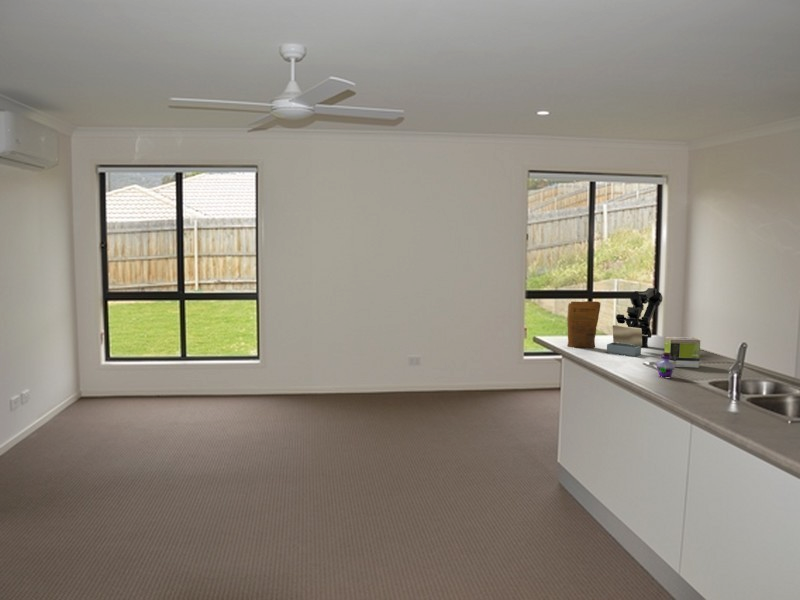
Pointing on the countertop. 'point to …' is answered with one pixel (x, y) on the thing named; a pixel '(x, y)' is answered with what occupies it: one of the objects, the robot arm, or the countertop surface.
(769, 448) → the countertop surface
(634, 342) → the birch lid
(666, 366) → the potion bottle
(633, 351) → the slate box
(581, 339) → the pancake mix bag
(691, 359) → the tea box
